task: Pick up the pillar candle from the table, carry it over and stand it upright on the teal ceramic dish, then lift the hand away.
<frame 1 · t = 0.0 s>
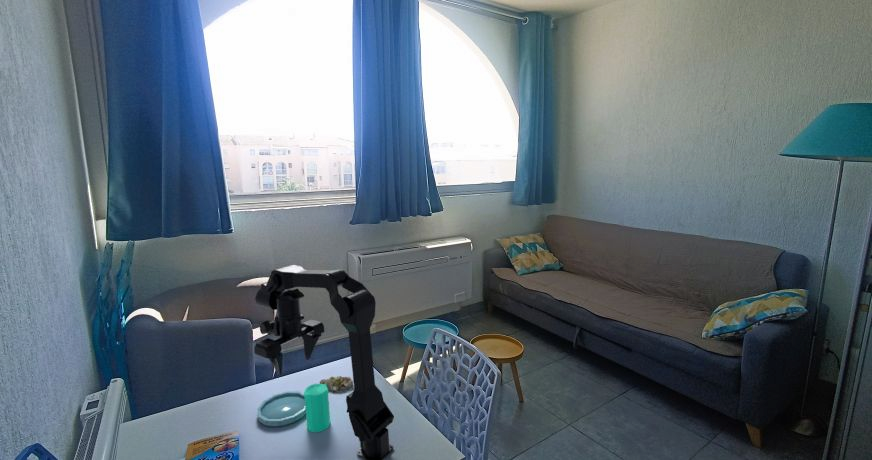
hand: (294, 366, 109), 15 cm above the table, tool pointing down, fingers open, 9 cm apart
candle: (318, 425, 107), on the table
dish: (284, 411, 113), on the table
mineral rock: (336, 387, 126), on the table
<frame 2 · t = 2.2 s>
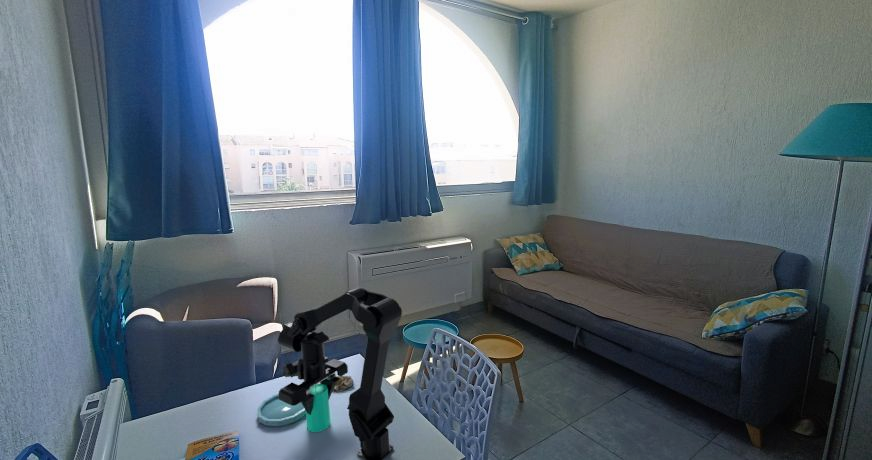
hand: (317, 409, 106), 5 cm above the table, tool pointing down, fingers closed on candle, 5 cm apart
candle: (318, 425, 107), on the table, touching gripper
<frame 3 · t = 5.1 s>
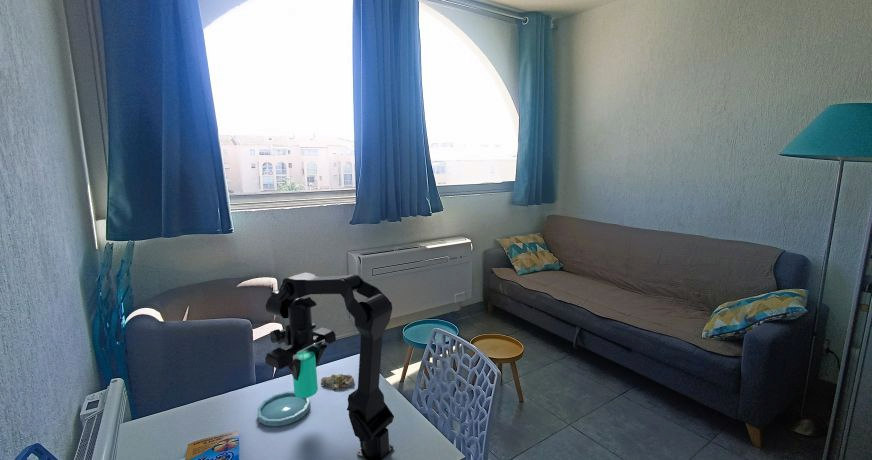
hand: (304, 376, 106), 13 cm above the table, tool pointing down, fingers closed on candle, 5 cm apart
candle: (306, 392, 107), point 9 cm above the table, touching gripper
when the fingers open (7 cm above the table, at t = 8.1 s): candle drops 1 cm, resting on dish.
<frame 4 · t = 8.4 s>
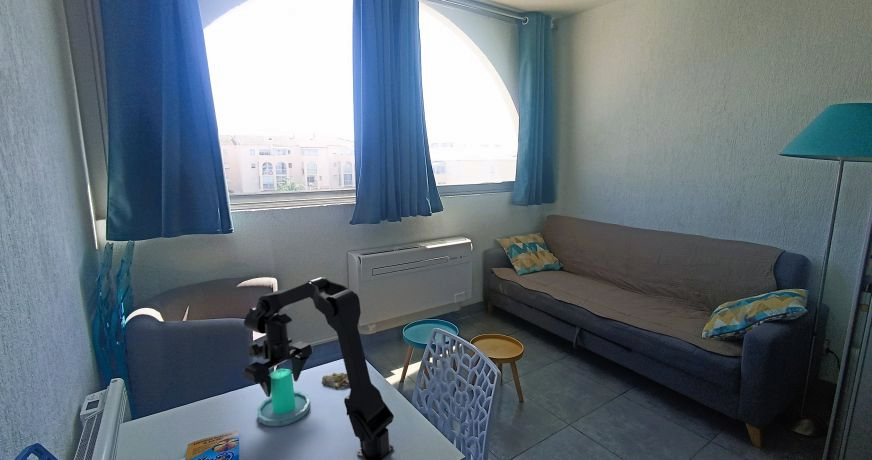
hand: (282, 388, 112), 7 cm above the table, tool pointing down, fingers open, 9 cm apart
candle: (284, 408, 113), point 1 cm above the table, touching dish
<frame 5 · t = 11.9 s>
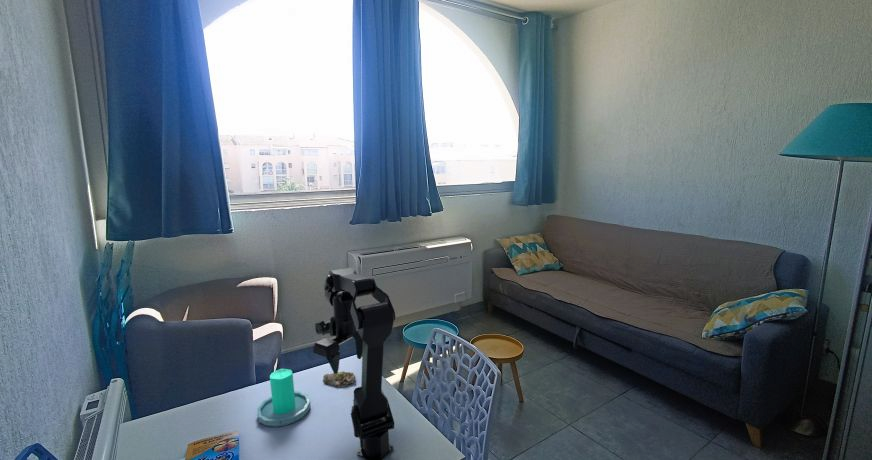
hand: (347, 365, 112), 13 cm above the table, tool pointing down, fingers open, 9 cm apart
at the end: candle 0.1 cm off-centre on the dish, point 1.0 cm above the dish's base; candle tilted 0°; the gripper is holding nothing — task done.
